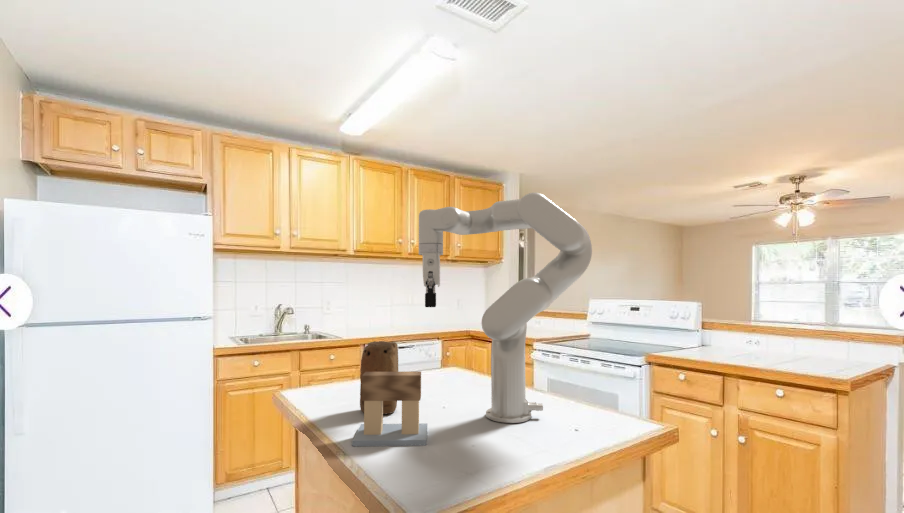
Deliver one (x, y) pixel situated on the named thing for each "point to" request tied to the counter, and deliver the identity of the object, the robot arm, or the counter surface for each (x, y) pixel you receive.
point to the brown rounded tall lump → (380, 366)
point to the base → (390, 427)
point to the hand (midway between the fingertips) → (430, 306)
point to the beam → (391, 386)
